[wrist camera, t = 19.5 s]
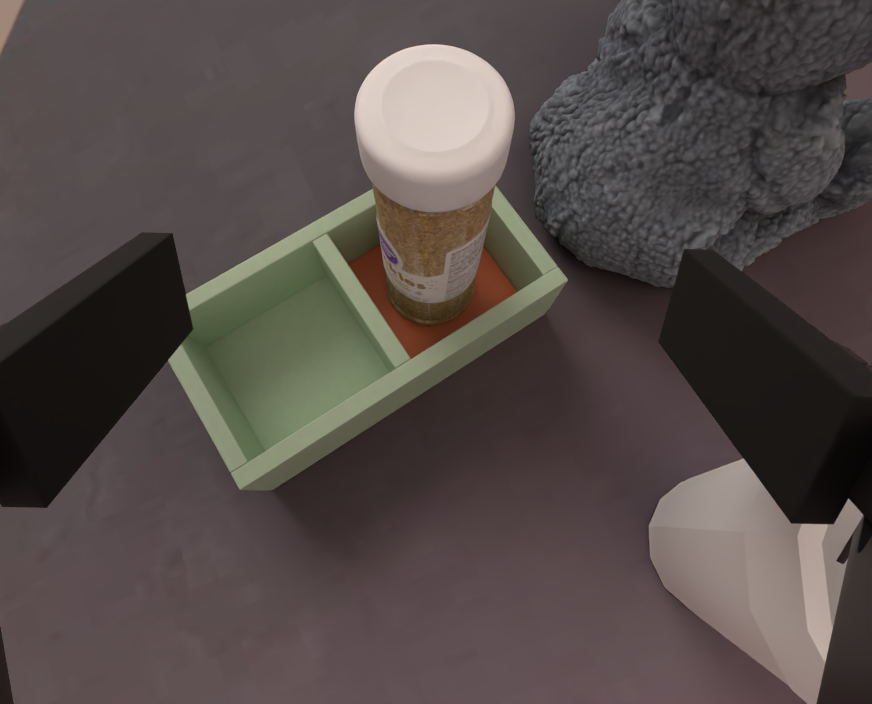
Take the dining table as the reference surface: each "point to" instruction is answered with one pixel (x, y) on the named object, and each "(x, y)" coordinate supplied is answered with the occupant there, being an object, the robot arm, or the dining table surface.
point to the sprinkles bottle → (433, 171)
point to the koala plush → (705, 132)
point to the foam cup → (753, 570)
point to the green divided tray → (338, 338)
